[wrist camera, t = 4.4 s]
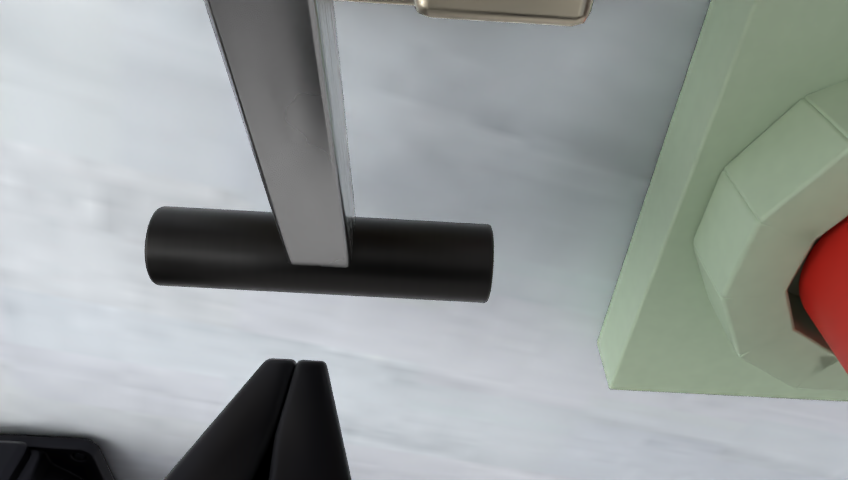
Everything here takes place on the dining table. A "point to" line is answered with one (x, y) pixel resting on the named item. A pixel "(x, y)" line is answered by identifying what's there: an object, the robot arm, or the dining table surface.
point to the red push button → (828, 289)
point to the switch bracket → (501, 10)
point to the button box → (739, 212)
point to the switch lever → (306, 183)
